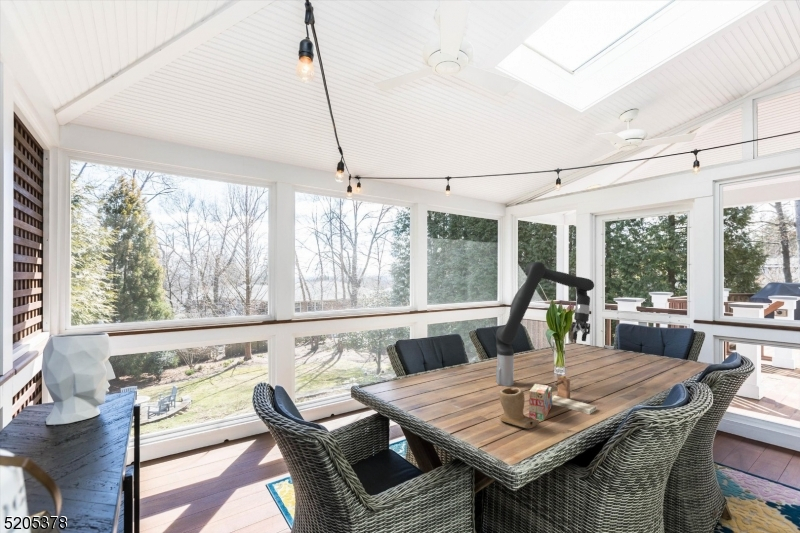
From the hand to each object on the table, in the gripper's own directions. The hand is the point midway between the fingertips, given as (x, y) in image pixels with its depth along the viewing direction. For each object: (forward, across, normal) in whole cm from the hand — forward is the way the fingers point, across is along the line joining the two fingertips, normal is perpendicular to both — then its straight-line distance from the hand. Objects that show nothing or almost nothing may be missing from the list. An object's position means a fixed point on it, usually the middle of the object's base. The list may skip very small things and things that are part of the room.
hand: (579, 340), depth 210 cm
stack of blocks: (+36, +32, -37) cm, 61 cm away
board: (+32, +28, -19) cm, 47 cm away
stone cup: (+40, +45, -55) cm, 81 cm away
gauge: (+32, +20, -20) cm, 43 cm away
